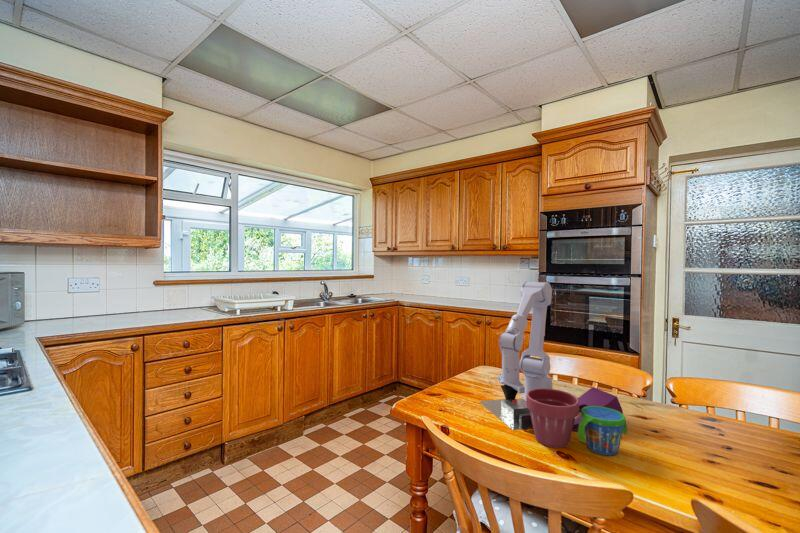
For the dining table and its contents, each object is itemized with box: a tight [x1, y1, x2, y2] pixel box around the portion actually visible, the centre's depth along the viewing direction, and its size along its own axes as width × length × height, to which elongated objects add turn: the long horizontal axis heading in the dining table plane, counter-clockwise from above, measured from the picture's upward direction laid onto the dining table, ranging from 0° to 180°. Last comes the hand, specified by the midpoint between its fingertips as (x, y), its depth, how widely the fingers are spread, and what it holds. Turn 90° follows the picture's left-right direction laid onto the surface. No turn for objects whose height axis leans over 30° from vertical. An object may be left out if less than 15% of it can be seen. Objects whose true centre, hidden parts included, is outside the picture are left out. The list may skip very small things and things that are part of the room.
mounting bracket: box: [572, 386, 624, 431], centre depth 117 cm, size 9×8×18 cm
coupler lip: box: [478, 398, 533, 431], centre depth 125 cm, size 14×24×4 cm, turn 13°
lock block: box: [501, 397, 530, 422], centre depth 122 cm, size 8×8×5 cm
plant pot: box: [525, 388, 580, 449], centre depth 106 cm, size 14×14×13 cm
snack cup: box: [576, 406, 628, 456], centre depth 101 cm, size 16×10×10 cm
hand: (510, 406), depth 127 cm, fingers closed, pressing on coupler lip
